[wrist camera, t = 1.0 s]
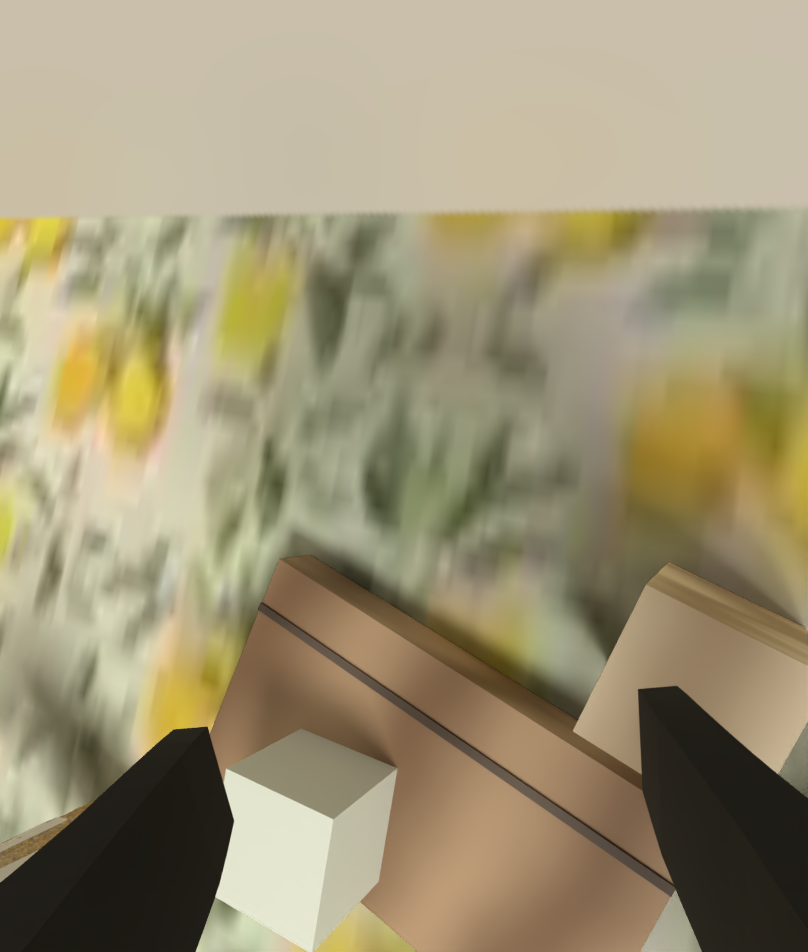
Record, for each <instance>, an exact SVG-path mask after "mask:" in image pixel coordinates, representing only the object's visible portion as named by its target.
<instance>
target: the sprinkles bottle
mask: <svg viewBox="0 0 808 952" xmlns="http://www.w3.org/2000/svg"><path fill="white" fill-rule="evenodd" d="M93 802H94V801H92V802H90V803H88V804H86V805H85V806H83V807H80V808H78V809H75V810H73V811H72V812H70V813H68V814H66V815H64V816H61V817H59V818H54V819H52V820H49V821H47V822H45V823H43V824H40V825H38V826H36V827H34V828H32V829H30V830H28V831H26V832H24V833H21V834H19V835H17V836H15V837H14V838H12V839H9V840H7V841H5V842H3V843H1V844H0V882H1V881H3V880H4V879H5V878H6V877H8V876H9V875H10V874H11V873H12V872H14V871H15V870H16V869H17V868H18V867H20V866H21V865H22V864H23V863H24V862H25V861H27V860H28V859H29V858H30V857H31V856H32V855H34V854H35V853H36V852H37V851H38V850H39V849H41V848H42V847H43V846H44V845H45V844H46V843H48V842H49V841H50V840H51V839H52V838H53V837H55V836H56V835H57V834H58V833H59V832H61V831H62V830H63V829H64V828H65V827H66V826H68V825H69V824H70V823H71V822H72V821H73V820H74V819H75V818H77V817H78V816H79V815H80V814H81V813H82V812H83V811H84V810H85V809H86V808H87V807H89V806H90V805H91V804H92V803H93Z"/></svg>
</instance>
